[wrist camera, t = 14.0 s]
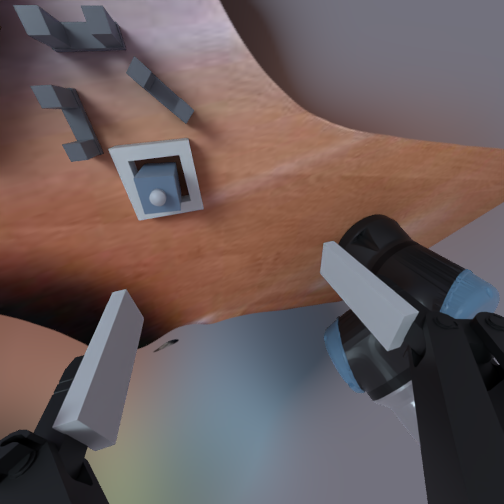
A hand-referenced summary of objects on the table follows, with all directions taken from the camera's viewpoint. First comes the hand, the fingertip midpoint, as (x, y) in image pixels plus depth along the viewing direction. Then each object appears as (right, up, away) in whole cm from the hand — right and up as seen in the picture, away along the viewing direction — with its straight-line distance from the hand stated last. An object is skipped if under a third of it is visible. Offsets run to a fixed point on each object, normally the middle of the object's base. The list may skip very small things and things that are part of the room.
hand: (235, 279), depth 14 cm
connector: (-11, +12, +15) cm, 23 cm away
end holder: (-11, +12, +15) cm, 23 cm away
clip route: (-13, +20, +10) cm, 26 cm away
